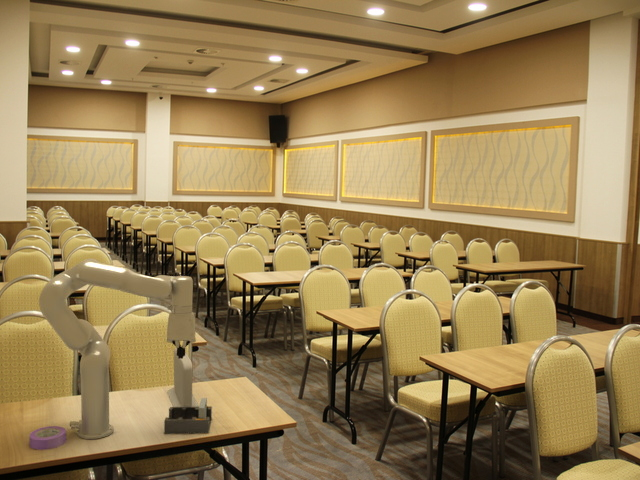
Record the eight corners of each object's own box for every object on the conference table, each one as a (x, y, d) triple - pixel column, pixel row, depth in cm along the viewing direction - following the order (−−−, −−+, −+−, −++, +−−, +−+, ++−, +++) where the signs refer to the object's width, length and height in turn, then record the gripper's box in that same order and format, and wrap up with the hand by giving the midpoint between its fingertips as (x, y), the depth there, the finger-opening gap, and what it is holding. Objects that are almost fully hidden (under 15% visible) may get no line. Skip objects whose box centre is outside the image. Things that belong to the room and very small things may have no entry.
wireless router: (201, 411, 244) (201, 363, 242) (176, 414, 240) (176, 365, 239) (188, 387, 273) (188, 344, 271) (165, 389, 269) (166, 345, 267)
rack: (164, 433, 221) (164, 420, 220) (170, 419, 234) (170, 406, 234) (208, 433, 222) (208, 419, 222) (211, 418, 236) (211, 405, 236)
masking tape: (50, 452, 204) (50, 441, 203) (21, 447, 207) (21, 436, 206) (73, 438, 215) (73, 428, 215) (45, 434, 218) (45, 424, 218)
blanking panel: (198, 429, 223) (198, 408, 223) (201, 417, 234) (201, 397, 233) (204, 428, 223) (204, 408, 223) (206, 417, 234) (206, 397, 234)
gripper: (159, 311, 220) (158, 360, 221) (201, 311, 221) (200, 360, 223) (163, 307, 227) (162, 354, 229) (203, 307, 229) (202, 355, 230)
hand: (180, 357), depth 226 cm, fingers closed
